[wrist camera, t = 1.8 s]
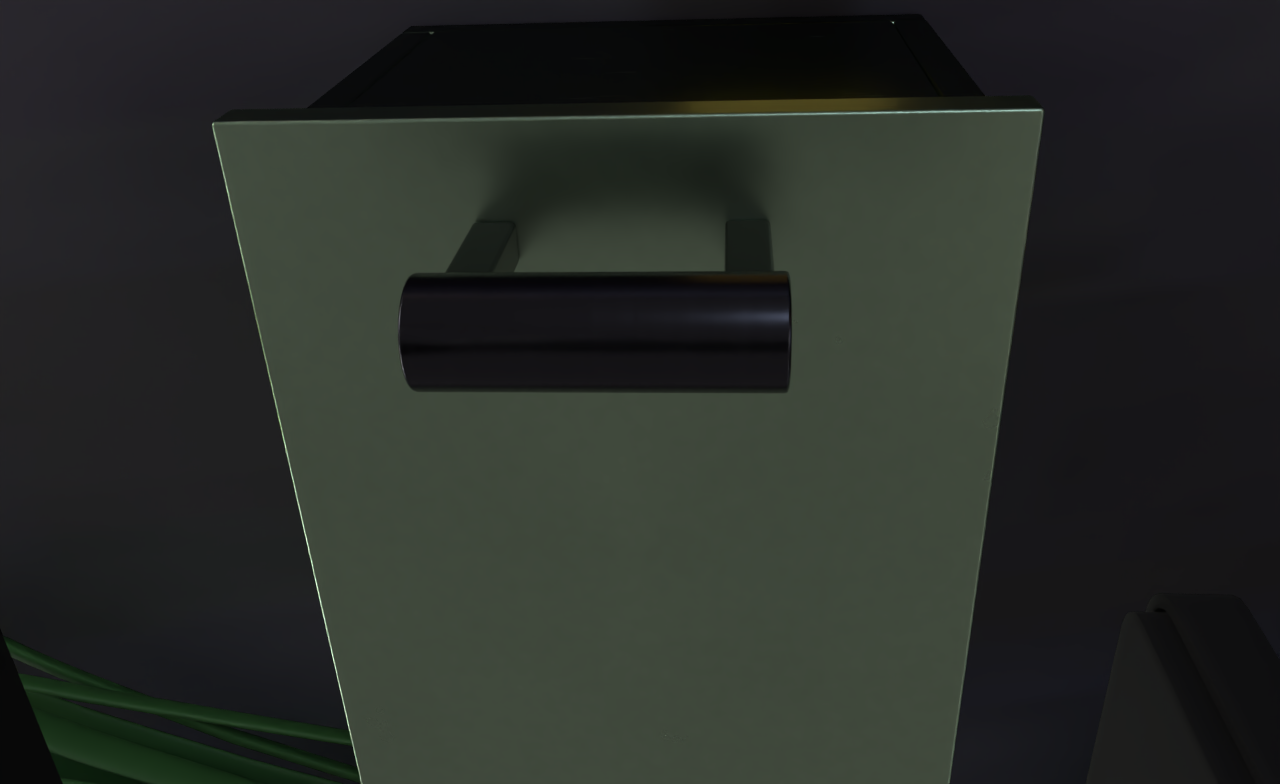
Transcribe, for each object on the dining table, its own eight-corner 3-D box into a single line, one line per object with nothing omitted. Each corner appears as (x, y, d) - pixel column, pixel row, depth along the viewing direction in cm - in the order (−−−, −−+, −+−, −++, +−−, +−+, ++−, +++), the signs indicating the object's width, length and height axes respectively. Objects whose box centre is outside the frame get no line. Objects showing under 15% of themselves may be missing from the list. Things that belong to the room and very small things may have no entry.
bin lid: (229, 108, 18) (71, 214, 14) (1033, 94, 17) (1136, 204, 12) (382, 811, 26) (313, 1017, 22) (933, 830, 25) (975, 1051, 20)
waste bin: (408, 25, 28) (241, 156, 18) (922, 13, 27) (1025, 145, 17) (476, 532, 35) (383, 809, 26) (877, 538, 34) (933, 829, 25)
